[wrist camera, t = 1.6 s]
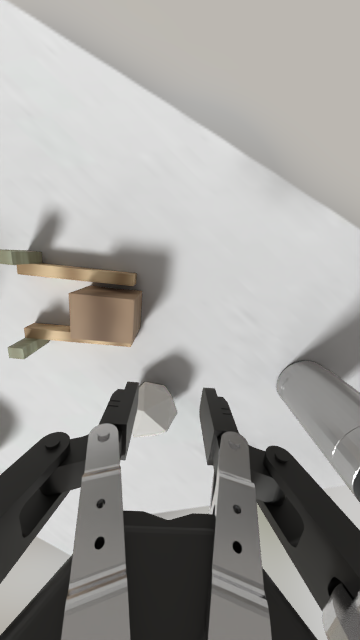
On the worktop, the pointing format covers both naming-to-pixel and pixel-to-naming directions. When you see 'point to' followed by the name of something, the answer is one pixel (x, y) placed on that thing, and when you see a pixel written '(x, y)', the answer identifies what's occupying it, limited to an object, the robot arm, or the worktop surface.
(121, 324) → the block
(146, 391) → the die
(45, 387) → the worktop surface
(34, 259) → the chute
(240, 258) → the worktop surface
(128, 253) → the worktop surface
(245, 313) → the worktop surface
